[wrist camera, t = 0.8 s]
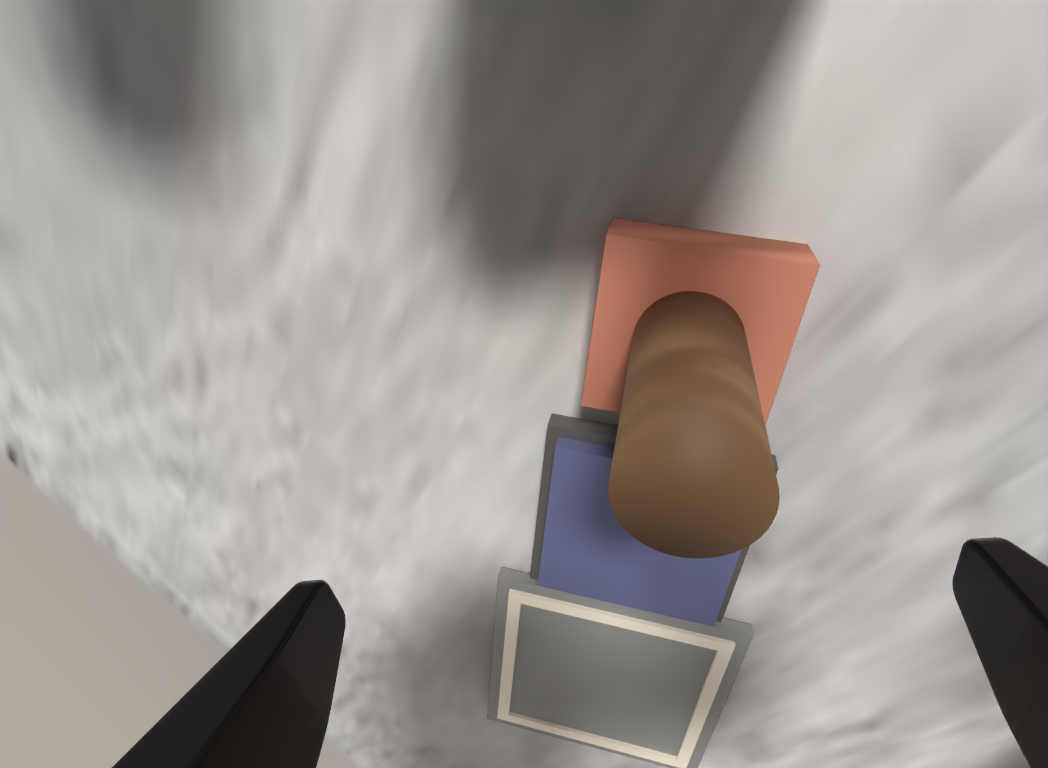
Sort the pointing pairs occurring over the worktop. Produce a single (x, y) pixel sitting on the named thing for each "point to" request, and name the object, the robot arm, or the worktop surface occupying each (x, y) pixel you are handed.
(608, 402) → the stamp
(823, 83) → the worktop surface
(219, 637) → the worktop surface
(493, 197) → the worktop surface
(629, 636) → the marked board
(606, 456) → the ink pad
